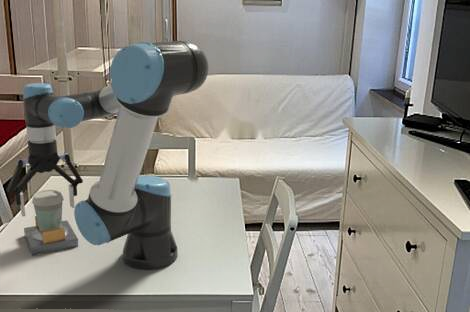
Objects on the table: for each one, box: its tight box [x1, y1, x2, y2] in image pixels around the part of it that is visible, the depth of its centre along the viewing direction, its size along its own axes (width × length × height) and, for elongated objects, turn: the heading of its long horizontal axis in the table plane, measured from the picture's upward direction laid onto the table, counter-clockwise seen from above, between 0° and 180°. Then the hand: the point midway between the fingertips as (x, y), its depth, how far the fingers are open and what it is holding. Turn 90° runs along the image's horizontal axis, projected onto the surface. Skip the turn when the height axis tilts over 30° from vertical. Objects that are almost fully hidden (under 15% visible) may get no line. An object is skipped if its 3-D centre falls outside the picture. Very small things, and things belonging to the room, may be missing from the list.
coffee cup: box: [31, 189, 64, 235], centre depth 150 cm, size 8×9×12 cm
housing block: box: [23, 215, 79, 256], centre depth 152 cm, size 14×13×6 cm
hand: (48, 210), depth 150 cm, fingers open, 13 cm apart
